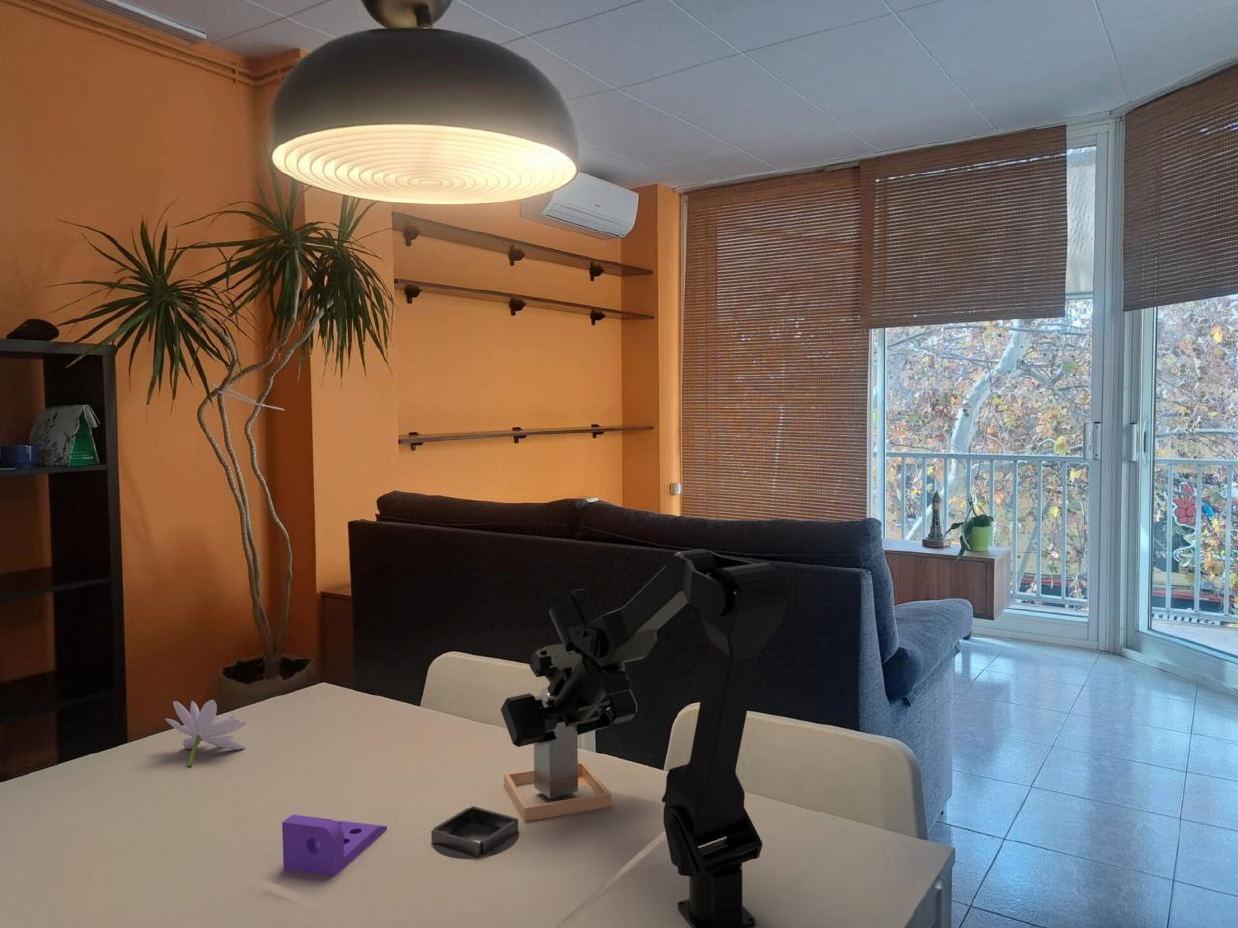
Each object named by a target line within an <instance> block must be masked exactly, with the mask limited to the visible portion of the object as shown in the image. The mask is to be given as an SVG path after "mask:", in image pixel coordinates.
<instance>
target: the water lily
mask: <svg viewBox="0 0 1238 928" xmlns="http://www.w3.org/2000/svg"><path fill="white" fill-rule="evenodd" d="M172 703H173V707H174V709H175V712H176V714H177V716H178V718H179V720H180V722H181V723H182V724H183V725H184V726H185V727H184V726H183V725H182V724H180V723H179V722H178V721H177V720H174V719H171V718H164V720H166V722H167V723H168V724H169V725H170V726H172V728H174V729H176V730H177V731H179V732H180V733H183V734H185V735H188V736H191V737H189V738H188V737H187V738H185V739H183V740H182V746H183V747H184V748H185V749H191V751H190V755H189V758H188V761H187V762H188V763H187V765H186V766H187V767H188V766H191V767H192V766H193V762H194V758H195V754H196V752H197V748H198V747H199V745H200V744H201V742H202V741H203V742H206V743H207V744H209V745H212V746H214V747H219V748H222V749H228V750H240V749H242V750H246V748H245V747H246V746H243V744H241V743H239V742H237V741H233V740H231V739H234V736H232V735H228V734H230V733H232V732H235V731H237V730H239V729H241V728H243V727H244V726H246V725H247V724H248V722H247V721H245V720H240V719H238V718H234V717H235V715H234V714H229V715H225V716H223V717H221V718H219V719H217V720H216V721H215V722H214V720H215V718H216V715H217V712H218V707H217V706H218V705H217V703H216V701H215V700H214V699H210V700H208V701H206V703H204V704H203V706H202V707H201V710H200V709H199V706H198V705H197V703H196V702H195V701H193V700H192V701H191V703H190V710H188V709H187V708H186V707H185V706H184V705H183V704H181V703H180V702H179V701H177V700H175V701H174V700H173V701H172ZM189 711H190V712H189Z"/></svg>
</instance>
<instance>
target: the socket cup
mask: <svg viewBox="0 0 1238 928" xmlns="http://www.w3.org/2000/svg"><path fill="white" fill-rule="evenodd" d="M519 831H520V830H519V818H516V817H514V816H511V815H508V814H507V815H506V814H503V813H499V812H496V811H492V810H489V809H485V808H481V807H477V806H474V805H473V806H471V807H467V808H464V809H463V810H462V811H460V812H458V813H456V814H455V815H454V816H451V817H449V818H448V819H446V820H445V821H443V822H441V823H439V824H438V825H437V826H435V827H433V829H431V834H430V835H431V837H430V838H431V842H430V843H431V846H432V848H433V849H434V851H436V852H437V853H438V854H440V855H442V856H445V857H448V858H454V859H458V860H474V859H475V860H476V859H483V858H487V857H493V856H496V855H499V854H501V853H503V852H505V851H507V850H508V849H510V848H512V847H513V846H514V845H515V844H516V843H517V841H518V839H519V837H520V832H519Z"/></svg>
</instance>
